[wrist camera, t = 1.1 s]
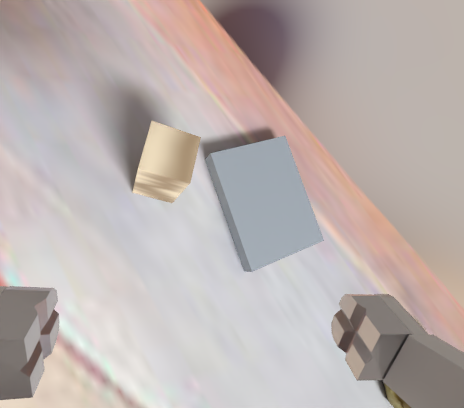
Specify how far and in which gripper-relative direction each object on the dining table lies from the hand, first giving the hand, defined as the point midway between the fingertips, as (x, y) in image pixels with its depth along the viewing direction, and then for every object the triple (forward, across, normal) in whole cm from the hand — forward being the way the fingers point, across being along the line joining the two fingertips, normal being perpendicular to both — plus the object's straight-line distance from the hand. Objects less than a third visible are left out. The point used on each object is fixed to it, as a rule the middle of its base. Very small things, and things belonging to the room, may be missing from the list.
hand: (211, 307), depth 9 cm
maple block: (+30, +2, +8) cm, 32 cm away
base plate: (+32, -12, +10) cm, 35 cm away
